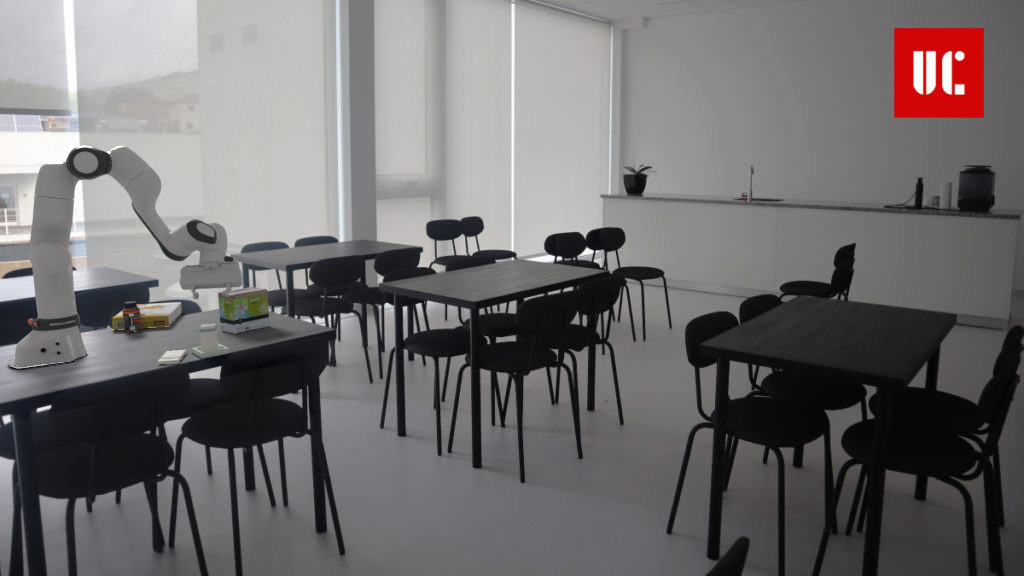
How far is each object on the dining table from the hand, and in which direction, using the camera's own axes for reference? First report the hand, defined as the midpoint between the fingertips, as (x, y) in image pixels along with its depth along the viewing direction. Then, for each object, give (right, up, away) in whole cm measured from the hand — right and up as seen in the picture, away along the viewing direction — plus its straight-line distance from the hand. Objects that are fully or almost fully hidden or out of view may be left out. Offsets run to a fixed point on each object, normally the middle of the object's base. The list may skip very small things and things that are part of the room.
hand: (210, 297), depth 263 cm
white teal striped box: (+2, -18, -6) cm, 19 cm away
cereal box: (-42, -11, +44) cm, 62 cm away
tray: (+2, -19, -6) cm, 20 cm away
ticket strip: (-8, -20, -12) cm, 24 cm away
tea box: (+2, -12, +28) cm, 31 cm away
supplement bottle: (-40, -13, +27) cm, 50 cm away
